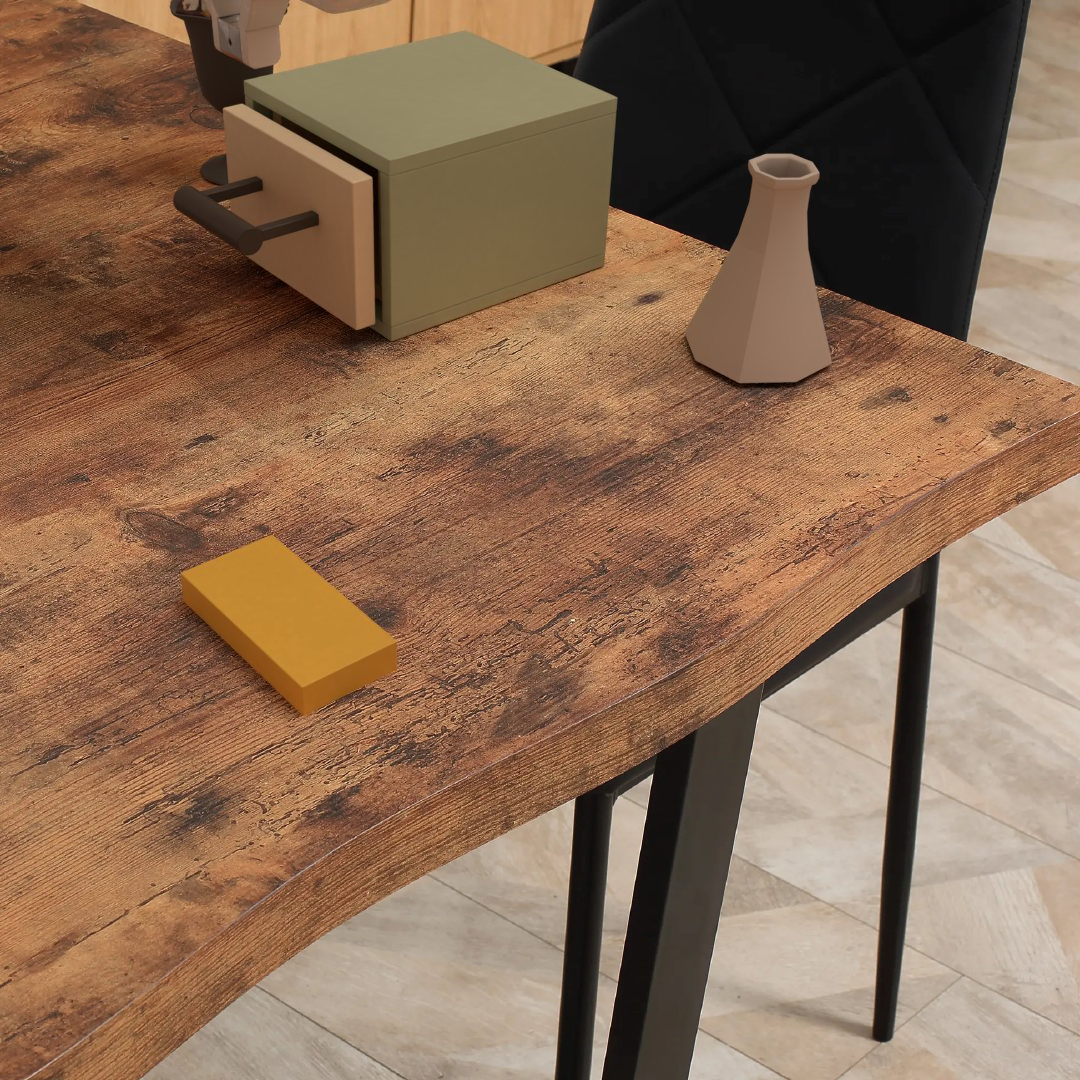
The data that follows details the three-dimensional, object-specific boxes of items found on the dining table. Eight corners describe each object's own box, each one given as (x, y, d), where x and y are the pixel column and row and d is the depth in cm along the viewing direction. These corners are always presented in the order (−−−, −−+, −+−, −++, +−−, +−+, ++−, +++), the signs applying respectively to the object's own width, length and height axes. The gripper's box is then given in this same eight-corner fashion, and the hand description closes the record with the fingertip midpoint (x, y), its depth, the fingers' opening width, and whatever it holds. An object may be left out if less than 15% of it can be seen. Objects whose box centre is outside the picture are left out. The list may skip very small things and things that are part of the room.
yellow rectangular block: (186, 635, 59) (179, 572, 57) (276, 595, 61) (272, 533, 59) (305, 751, 54) (301, 687, 52) (398, 704, 56) (397, 640, 54)
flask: (732, 400, 74) (759, 207, 69) (659, 332, 80) (679, 147, 74) (856, 373, 77) (892, 185, 71) (778, 309, 82) (806, 128, 76)
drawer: (275, 359, 74) (265, 207, 69) (154, 271, 81) (139, 127, 76) (560, 260, 84) (568, 121, 79) (432, 189, 91) (432, 57, 86)
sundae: (267, 201, 90) (251, -65, 81) (165, 181, 92) (138, -82, 83) (316, 160, 95) (306, -94, 87) (219, 142, 97) (199, -110, 88)
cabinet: (391, 342, 78) (389, 160, 72) (254, 251, 85) (243, 80, 79) (604, 266, 86) (617, 97, 80) (462, 189, 93) (465, 29, 87)
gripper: (33, -307, 68) (78, 11, 76) (294, -228, 55) (314, 141, 64) (161, -316, 71) (191, -11, 79) (434, -244, 59) (435, 108, 67)
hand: (248, 58), depth 71 cm, fingers closed
